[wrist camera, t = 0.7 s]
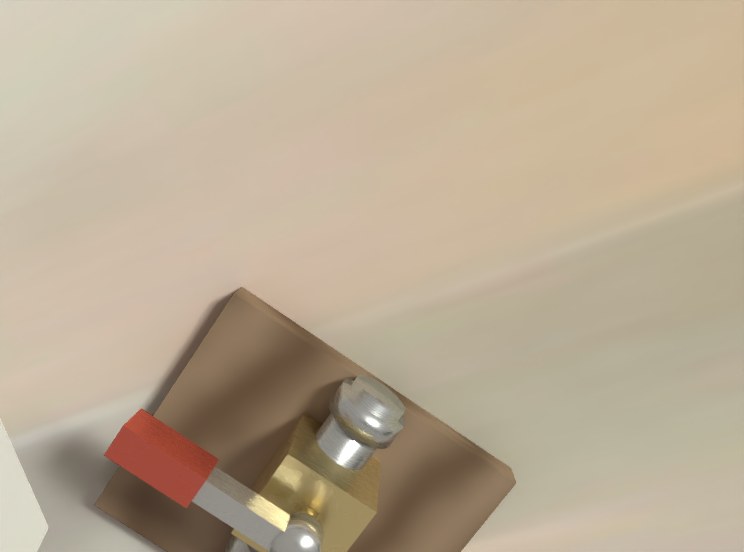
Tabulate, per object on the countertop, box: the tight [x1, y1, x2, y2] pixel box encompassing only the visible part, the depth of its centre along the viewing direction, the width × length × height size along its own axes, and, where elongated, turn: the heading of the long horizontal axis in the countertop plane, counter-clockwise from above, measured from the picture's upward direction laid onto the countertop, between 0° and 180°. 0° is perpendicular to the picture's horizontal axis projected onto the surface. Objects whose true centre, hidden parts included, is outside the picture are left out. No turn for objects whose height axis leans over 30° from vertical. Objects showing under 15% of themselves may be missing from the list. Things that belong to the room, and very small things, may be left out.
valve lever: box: [104, 409, 324, 552], centre depth 33 cm, size 12×3×2 cm, turn 55°
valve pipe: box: [225, 375, 405, 552], centre depth 39 cm, size 6×19×7 cm, turn 146°
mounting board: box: [95, 287, 516, 552], centre depth 43 cm, size 22×18×2 cm
